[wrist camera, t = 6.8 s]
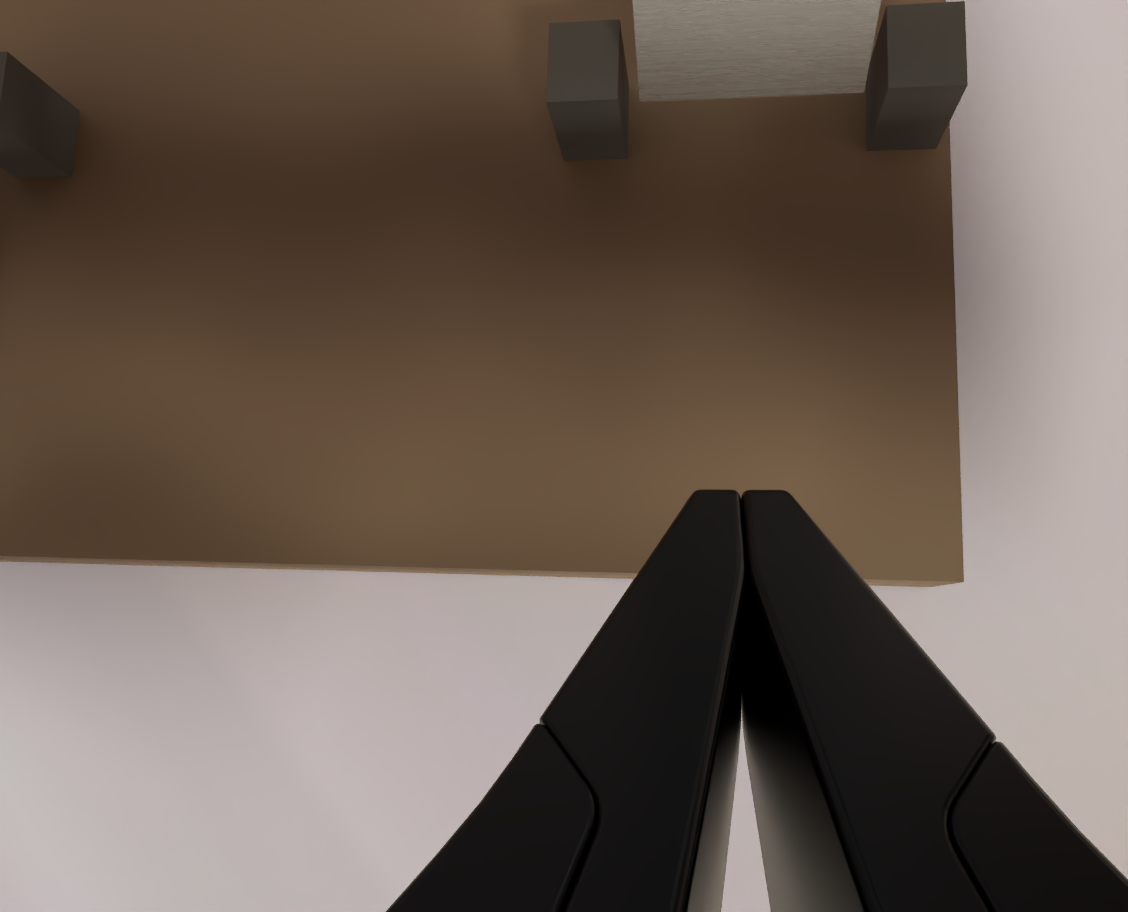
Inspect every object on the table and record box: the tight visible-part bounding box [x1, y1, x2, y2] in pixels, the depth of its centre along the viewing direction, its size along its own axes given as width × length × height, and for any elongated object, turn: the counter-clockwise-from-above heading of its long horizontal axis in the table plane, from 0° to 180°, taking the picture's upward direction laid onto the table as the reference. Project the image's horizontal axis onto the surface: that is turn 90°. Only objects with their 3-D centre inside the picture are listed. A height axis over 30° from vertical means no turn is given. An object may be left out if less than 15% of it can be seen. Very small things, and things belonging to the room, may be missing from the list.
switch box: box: [0, 0, 967, 587], centre depth 16 cm, size 11×20×4 cm, turn 88°
